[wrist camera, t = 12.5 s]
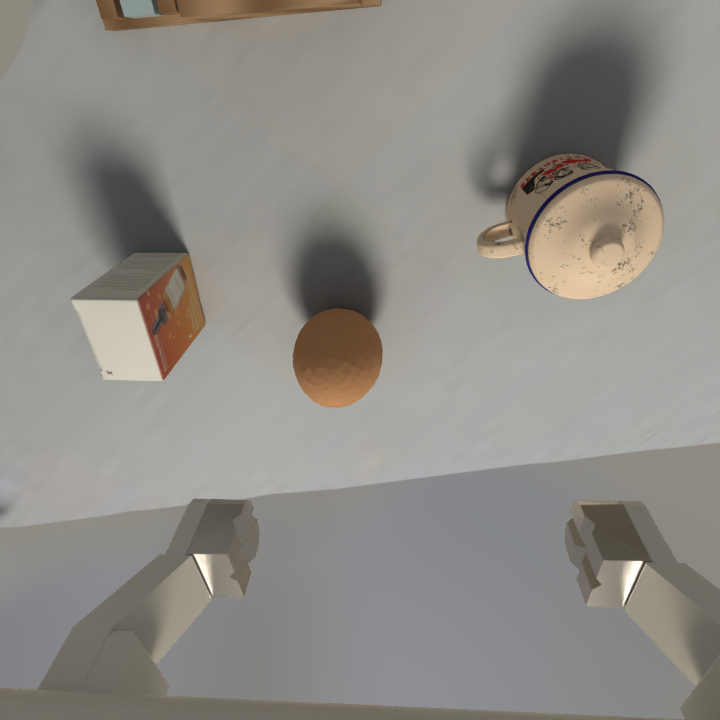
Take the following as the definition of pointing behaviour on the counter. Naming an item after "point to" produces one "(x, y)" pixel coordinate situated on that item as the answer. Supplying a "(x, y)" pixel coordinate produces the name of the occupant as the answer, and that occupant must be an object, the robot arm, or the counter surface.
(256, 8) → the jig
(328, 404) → the egg
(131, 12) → the plank
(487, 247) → the teacup with lid
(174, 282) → the small box
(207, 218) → the counter surface
